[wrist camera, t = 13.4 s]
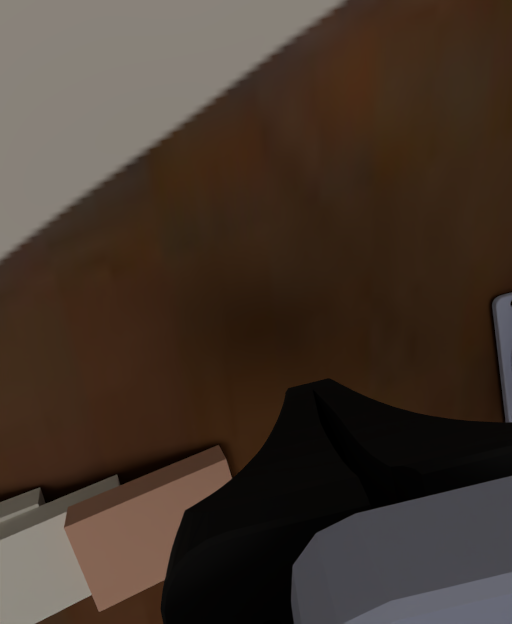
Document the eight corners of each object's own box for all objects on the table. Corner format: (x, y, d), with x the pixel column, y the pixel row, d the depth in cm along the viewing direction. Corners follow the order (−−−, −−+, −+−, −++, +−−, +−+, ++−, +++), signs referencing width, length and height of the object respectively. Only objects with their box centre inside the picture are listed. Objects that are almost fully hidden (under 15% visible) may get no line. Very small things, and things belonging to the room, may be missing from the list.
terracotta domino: (240, 519, 23) (100, 586, 21) (218, 444, 22) (67, 507, 20) (249, 537, 22) (99, 612, 19) (226, 458, 21) (63, 527, 18)
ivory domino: (119, 489, 21) (-62, 566, 18) (145, 567, 22) (-22, 652, 19) (116, 474, 22) (-51, 543, 19) (140, 548, 23) (-15, 624, 20)
